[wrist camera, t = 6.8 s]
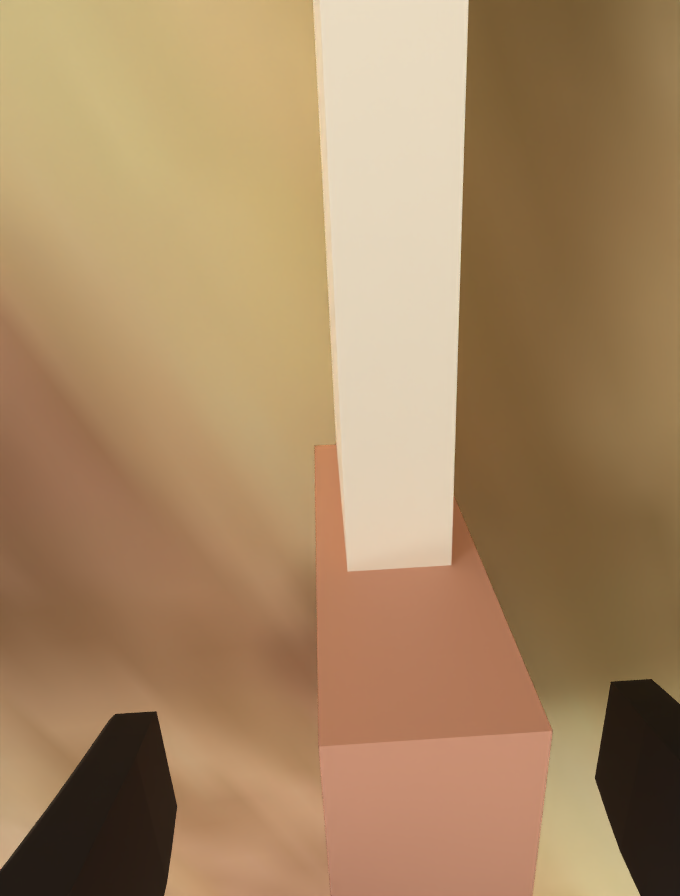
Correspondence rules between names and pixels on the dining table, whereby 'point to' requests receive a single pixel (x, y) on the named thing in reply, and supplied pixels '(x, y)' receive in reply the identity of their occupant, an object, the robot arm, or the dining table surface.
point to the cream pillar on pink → (408, 492)
